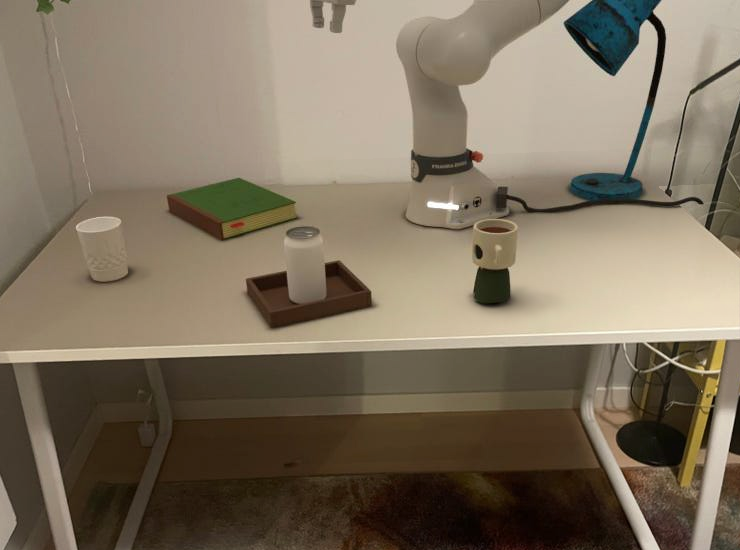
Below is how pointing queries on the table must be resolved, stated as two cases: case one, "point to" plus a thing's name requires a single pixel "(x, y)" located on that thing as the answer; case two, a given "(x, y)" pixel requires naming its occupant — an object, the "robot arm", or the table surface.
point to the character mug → (493, 258)
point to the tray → (280, 310)
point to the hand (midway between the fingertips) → (326, 30)
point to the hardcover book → (231, 208)
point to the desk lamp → (610, 51)
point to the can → (305, 264)
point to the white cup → (103, 248)
